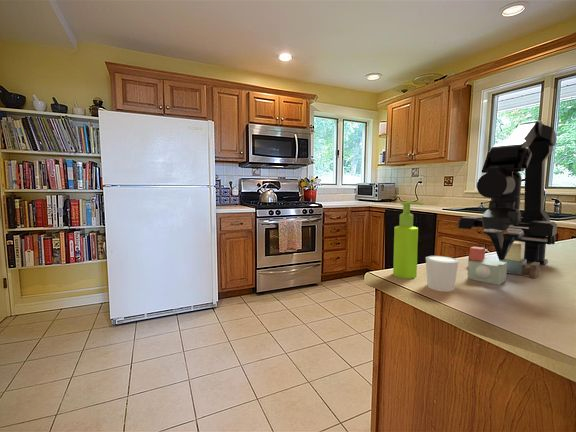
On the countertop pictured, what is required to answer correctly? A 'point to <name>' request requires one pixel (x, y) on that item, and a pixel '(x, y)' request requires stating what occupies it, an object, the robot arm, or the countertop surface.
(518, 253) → the carriage
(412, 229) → the soap dispenser
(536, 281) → the countertop surface
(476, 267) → the cabinet
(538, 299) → the countertop surface
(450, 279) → the white cup
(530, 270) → the brown i-shaped bar
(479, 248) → the red cube
